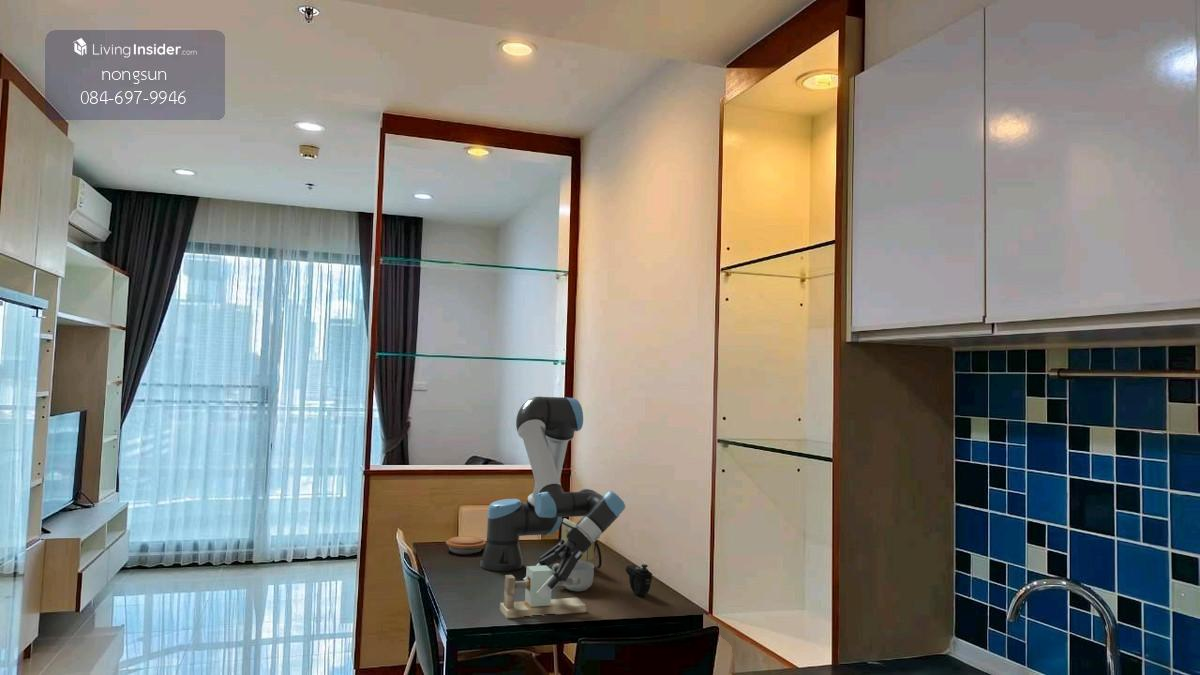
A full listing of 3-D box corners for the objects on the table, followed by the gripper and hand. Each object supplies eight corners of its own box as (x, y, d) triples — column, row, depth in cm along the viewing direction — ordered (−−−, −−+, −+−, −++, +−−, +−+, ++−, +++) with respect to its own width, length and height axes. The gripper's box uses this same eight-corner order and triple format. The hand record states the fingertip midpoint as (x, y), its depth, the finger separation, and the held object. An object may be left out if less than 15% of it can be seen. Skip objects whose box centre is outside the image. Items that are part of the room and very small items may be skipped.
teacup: (597, 587, 248) (598, 562, 248) (586, 595, 238) (587, 569, 238) (558, 581, 253) (560, 557, 253) (546, 589, 242) (547, 564, 243)
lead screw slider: (576, 604, 228) (578, 569, 229) (586, 612, 220) (587, 575, 221) (499, 609, 219) (501, 573, 220) (506, 618, 211) (508, 580, 212)
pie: (449, 556, 280) (450, 543, 281) (441, 547, 295) (442, 534, 295) (490, 554, 286) (490, 541, 287) (480, 546, 301) (480, 533, 301)
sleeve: (544, 599, 223) (545, 565, 224) (550, 605, 218) (552, 570, 218) (524, 600, 221) (526, 566, 221) (530, 606, 215) (532, 571, 216)
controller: (641, 599, 236) (642, 567, 236) (623, 589, 247) (624, 558, 247) (653, 598, 238) (654, 566, 238) (634, 588, 249) (635, 557, 249)
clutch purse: (606, 574, 266) (608, 531, 266) (588, 575, 263) (590, 532, 264) (573, 555, 293) (575, 516, 293) (557, 556, 290) (559, 516, 291)
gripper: (607, 553, 214) (554, 610, 208) (577, 534, 238) (529, 585, 231) (590, 535, 213) (537, 592, 206) (562, 518, 236) (513, 569, 229)
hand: (532, 588), depth 219 cm, fingers open, 13 cm apart
